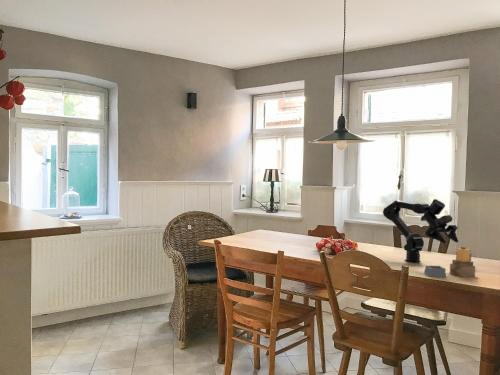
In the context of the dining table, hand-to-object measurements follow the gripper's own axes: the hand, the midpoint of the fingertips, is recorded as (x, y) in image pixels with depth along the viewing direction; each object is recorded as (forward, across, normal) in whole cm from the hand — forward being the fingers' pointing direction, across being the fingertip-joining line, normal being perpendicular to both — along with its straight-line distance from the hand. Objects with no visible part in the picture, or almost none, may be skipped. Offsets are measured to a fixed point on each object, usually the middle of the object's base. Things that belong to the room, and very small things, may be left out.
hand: (451, 242), depth 226 cm
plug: (+12, -1, +3) cm, 13 cm away
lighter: (+4, +18, +16) cm, 24 cm away
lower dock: (+12, -16, +9) cm, 22 cm away
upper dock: (+16, -1, +7) cm, 17 cm away
